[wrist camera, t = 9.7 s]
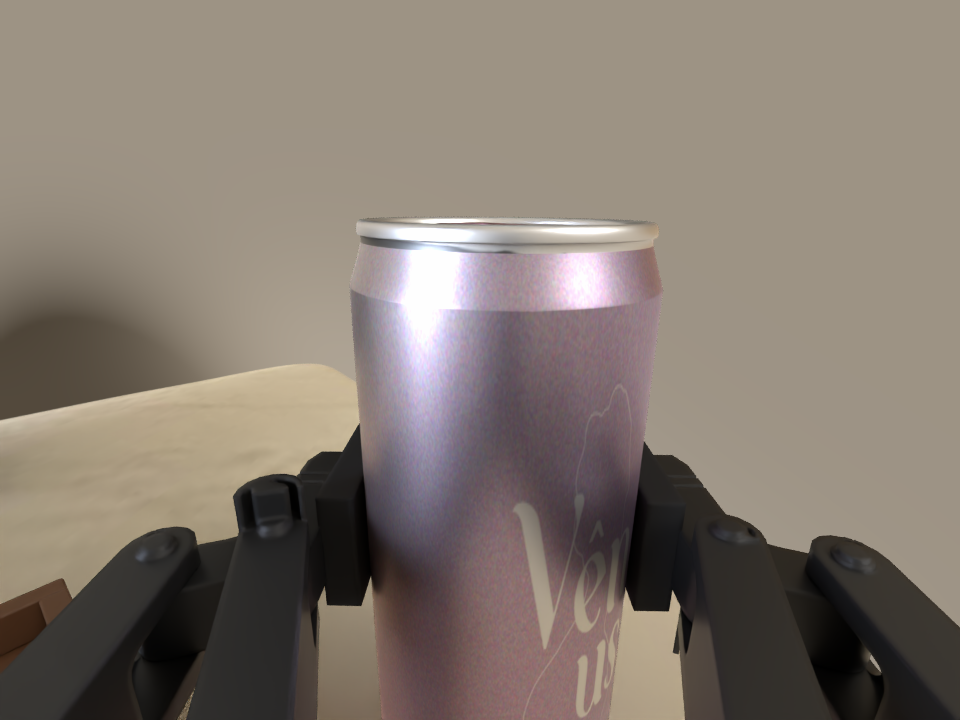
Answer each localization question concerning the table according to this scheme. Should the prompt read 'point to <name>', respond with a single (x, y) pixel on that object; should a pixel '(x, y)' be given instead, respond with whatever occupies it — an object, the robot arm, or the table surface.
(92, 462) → the table surface
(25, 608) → the tray
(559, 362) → the beverage can
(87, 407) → the table surface
